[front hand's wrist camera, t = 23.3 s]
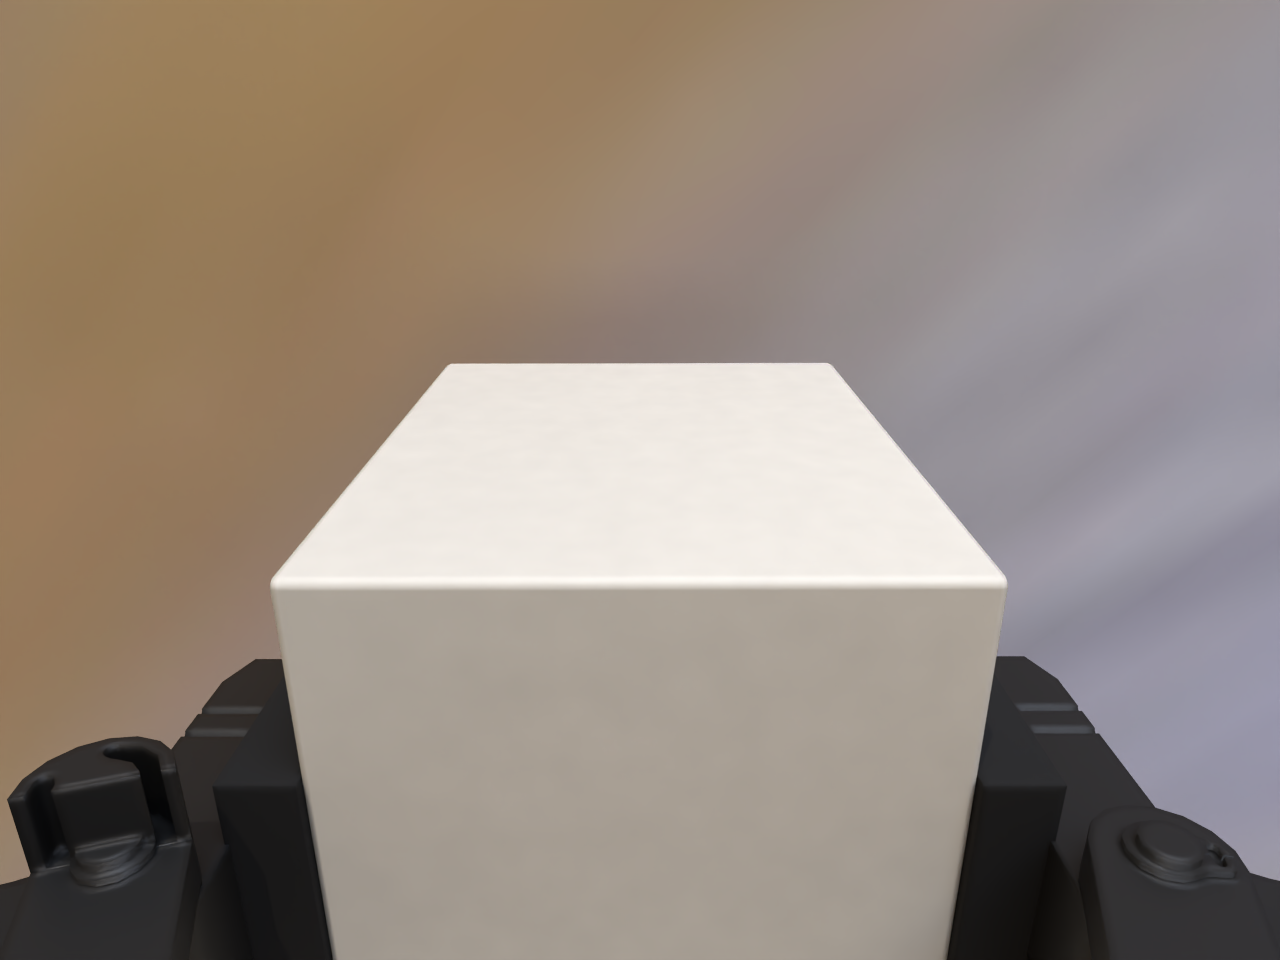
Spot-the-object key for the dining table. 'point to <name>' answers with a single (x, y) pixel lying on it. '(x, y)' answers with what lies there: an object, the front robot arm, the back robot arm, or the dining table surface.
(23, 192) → the dining table surface
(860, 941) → the block
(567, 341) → the dining table surface
